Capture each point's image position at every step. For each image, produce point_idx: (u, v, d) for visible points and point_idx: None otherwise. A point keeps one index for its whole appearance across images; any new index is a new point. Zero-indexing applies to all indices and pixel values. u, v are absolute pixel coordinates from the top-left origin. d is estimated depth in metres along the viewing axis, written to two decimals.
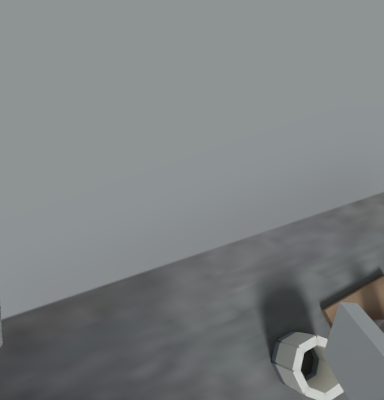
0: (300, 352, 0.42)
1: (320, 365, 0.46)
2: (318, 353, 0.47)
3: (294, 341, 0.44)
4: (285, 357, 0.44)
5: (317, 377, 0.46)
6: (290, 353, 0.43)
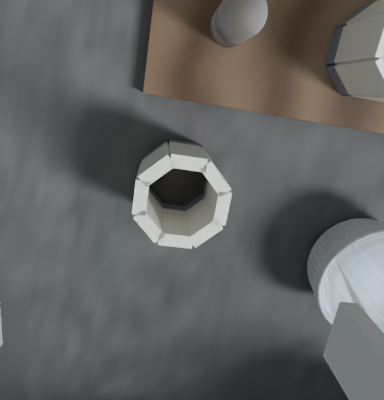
0: (141, 217, 0.25)
1: None
2: None
3: None
4: None
5: (209, 181, 0.29)
6: None
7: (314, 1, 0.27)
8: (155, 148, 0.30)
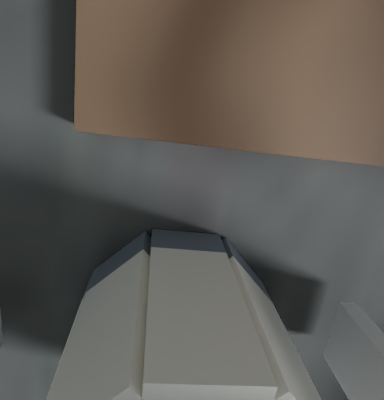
0: None
1: None
2: None
3: None
4: None
5: None
6: None
7: None
8: (119, 255, 0.13)
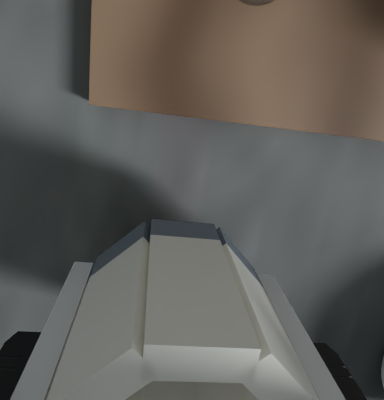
0: None
1: None
2: None
3: None
4: None
5: None
6: None
7: None
8: (121, 243, 0.14)
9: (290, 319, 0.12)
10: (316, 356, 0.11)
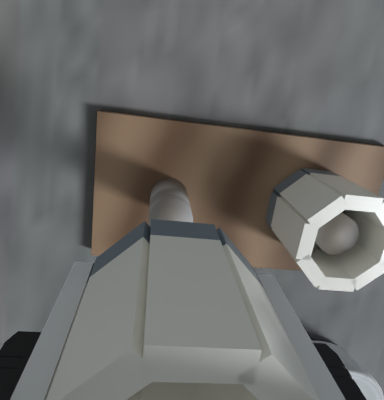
0: None
1: None
2: None
3: None
4: None
5: None
6: None
7: (250, 169, 0.28)
8: (121, 243, 0.14)
9: (290, 319, 0.12)
10: (316, 356, 0.11)
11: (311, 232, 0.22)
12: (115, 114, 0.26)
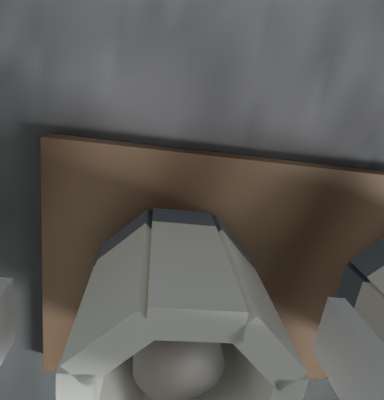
0: None
1: None
2: None
3: None
4: None
5: None
6: None
7: (313, 232, 0.16)
8: (125, 230, 0.15)
9: (381, 352, 0.11)
10: None
11: None
12: (74, 142, 0.14)
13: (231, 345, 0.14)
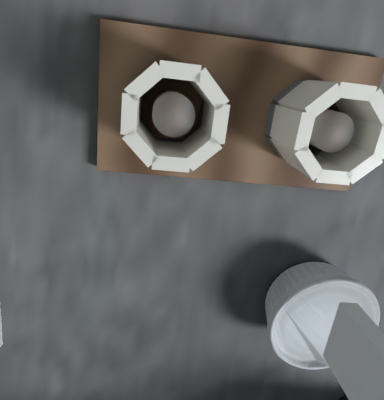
0: (132, 138, 0.23)
1: (194, 87, 0.26)
2: None
3: None
4: None
5: (204, 106, 0.27)
6: None
7: (249, 80, 0.29)
8: None
9: None
10: None
11: (308, 121, 0.23)
12: (117, 22, 0.26)
13: (202, 130, 0.27)
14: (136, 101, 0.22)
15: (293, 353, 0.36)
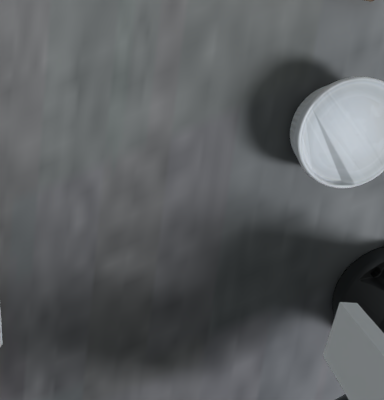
0: None
1: None
2: None
3: None
4: None
5: None
6: None
7: None
8: None
9: None
10: None
11: None
12: None
13: None
14: None
15: (319, 170, 0.36)
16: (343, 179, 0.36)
